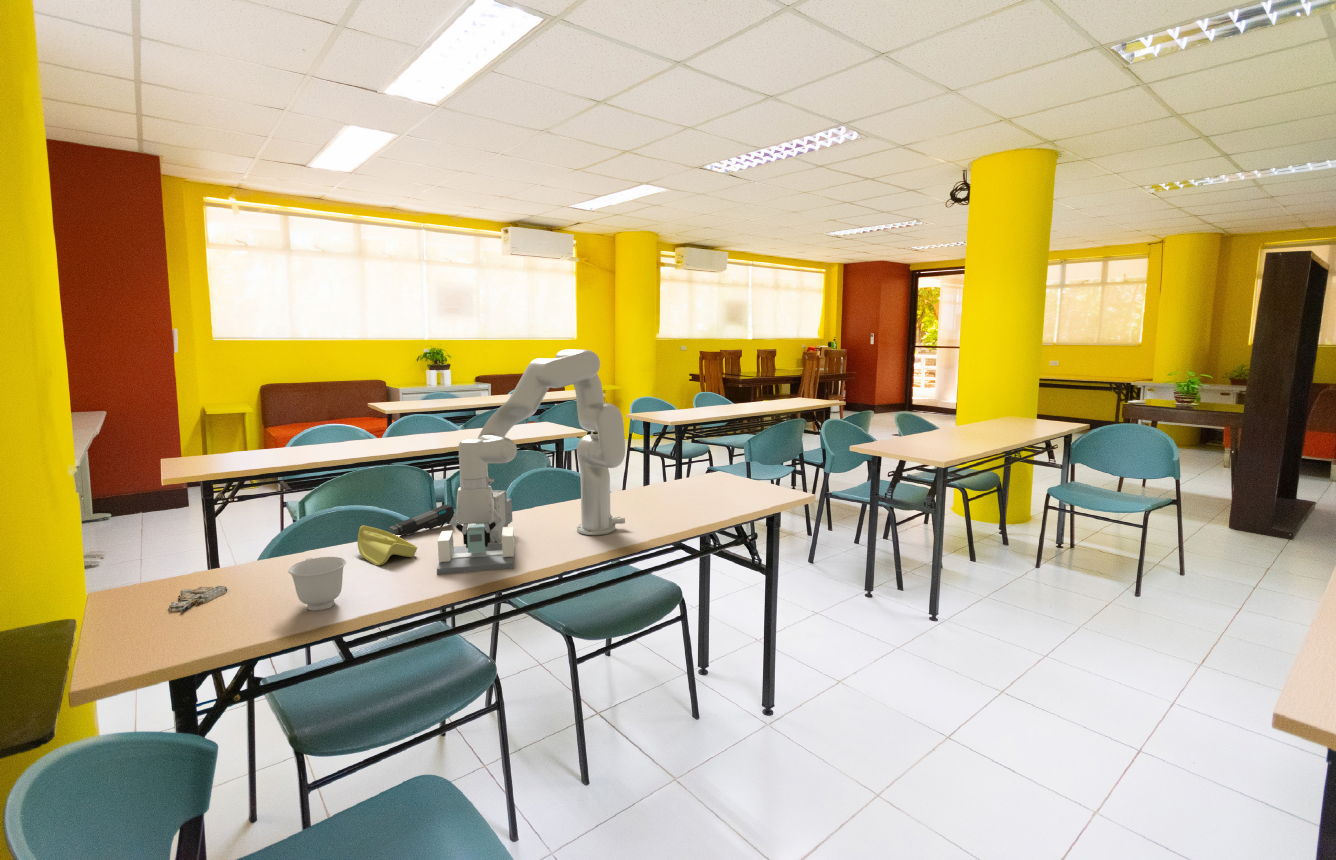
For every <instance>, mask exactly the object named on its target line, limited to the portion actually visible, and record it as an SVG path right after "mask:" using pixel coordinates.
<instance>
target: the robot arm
mask: <svg viewBox="0 0 1336 860" xmlns="http://www.w3.org/2000/svg"><path fill="white" fill-rule="evenodd" d="M600 368H601V360H600V358H599V356H598V354H597V353H595V352H594V351H592V350H589V349H576V348H575V349H572V348H570V349H569V348H568V349H567V348H566V349H562V350H560V351H558V352H557V353H556V355H555V357H554V358H546V357H545V358H543V357H540V358H534V359H533V360H532V361H530V363H529V364H528V365H527V366H526V368H525V370H524V372H523V374H522V375H521V378H520V379H519V381H518V383H517V384H516V387H515V388H514V390H513V391H512V392H511V395H510V397H509V398H508V399H507V401H505V402H504V403H503V404H502V405H501V406H500V407H498V409H497V410H496V411H495V412H493V414H492V415H491V416H490V417H489V418H488V420H487V421H486V422H485V424H484V425H483V427H482V430H480V433H479V434H478V437H477V438H467V439H463V440H461V441H460V442H459V443H458V461H459V463H458V464H459V483H460V484H459V485H460V486H459V487H458V489H457V494H456V495H457V496H456V512H454V514H453V515H454V516H453V518H452V519H451V521H450V523H448V524H449V525H450V526H452V527H454V528H456V530H458V531H459V532H460V533H461V534H462V537H463V538H462V539H463V545H465V546H466V548H468V542H467V530H468V527H469V525H476V523H484V526H485V546H486V547H488V543H490V531H491V530H492V529H493V528H494V527H495V526H496V525H497V524H499V523H500V522H501V521H502V518H501V516H500V515H499V514H498V513H497V512H496V511H495V509H494V498H493V492H492V490H493V488H492V486H491V485H490V484H494V478H493V477H489V472H488V469H489V468H488V466H489V465H490V464H507V463H509V462H511V461H513V460H514V459H515V458H516V456H517V453H518V448H517V445H516V443H515V441H514V440H513V439H510V438H509V437H506V435H507V434H508V433H509V432H510V430H511V429H512V428H513V427H514V426H516V425H517V424H519V423H520V422H522V421H524V420H526V419H528V418H530V417H532V416H533V415H534V414H535V413H536V412H537V410H538V408H539V407H540V405H541V403H542V401H543V400H544V397H545V396H546V394H547V392H548V391H549V390H550V388H552V389H559V388H564V387H568V386H572V385H573V387H574V392H575V397H576V398H575V399H576V408H577V409H576V410H577V418H578V419H577V420H578V423H579V426H580V427H581V428H582V429H584V430H585V431H588V432H592V433H591V434H586V435H584V436H583V437H581V438H580V440H579V441H578V443H577V446H576V455H577V460H578V464H579V465H578V466H579V474H580V507H581V510H580V514H581V519H580V520H581V523H580V524H578V525H577V526H576V531H577V532H578V533H579V534H582V535H585V536H603V535H607V534H611V533H613V532H614V531H615V530H616V525H617V524H619V525H621V524H622V525H623V524H626V517H621V516H612V513H611V476H610V470H609V469H614V468H617V467H619V466H620V465H622V463H623V462H624V460H625V456H626V439H625V427H624V426H625V425H624V418H623V415H622V412H621V410H620V409H619V408H618V406H616V405H614V404H612V403H607V402H605V400H604V392H603V385H602V382H601V379H600V376H599V375H598V372H599V371H600ZM594 433H597V434H594ZM494 517H495V518H496V520H495V521H493V520H494ZM491 521H493V522H492V523H491V524H490V523H489V522H491Z"/></svg>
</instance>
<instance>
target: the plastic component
mask: <svg viewBox="0 0 1336 860" xmlns="http://www.w3.org/2000/svg"><path fill="white" fill-rule="evenodd" d="M357 534H358V535H357V549H358V552H359V555H360V556H361V557H362V558H363V559H365V560H367V561H368V562H370V563H371V564H373V565H375V566H377V565H378V566H379V567H381V566H383V565H385V563H387V562H388V560H389V559H390V557H391V556H393V555H396V556H401V557H405V558H406V557H407V558H414V557H415V555H416V553H417V550H418V546H416V545H415V544H413V543H412V542H409V541H407V540H405V539H403V538H401V537H398V536H396V535H395V534H394V533H392V532H389V531H386V530H384V529H380V528H376V527H372V526H367V525H363V524H362V525H361V526H360V527H359V529H358V533H357Z"/></svg>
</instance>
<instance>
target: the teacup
mask: <svg viewBox="0 0 1336 860" xmlns="http://www.w3.org/2000/svg"><path fill="white" fill-rule="evenodd" d="M346 565H347V561H346V560H345V558H342V557H337V556H320V557H315V558H313V557H307V558H306V559H305V560H301V561H299V562H297V563H295V564H292V565H291V566H290V567H289V569H288V570H287V573H288V574H289V575H290V576H292V580H293V583H294V587H295V592H296V595H297V598H298V600H299V602H301V603H303V604H305V605H307V610H309V611H323V610H326V609H329V608H331V607H333V606H334V605H335V600H336V599H337V598H338V597H339V596H340V594H341V592H342V588H343V587H342V586H343V574H344V573H343V572H344V567H345V566H346Z"/></svg>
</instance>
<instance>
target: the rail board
mask: <svg viewBox="0 0 1336 860" xmlns="http://www.w3.org/2000/svg"><path fill="white" fill-rule="evenodd" d="M453 532H454V531H453V530H442V531H441V532H440V535H439V536H438V539H437V550H438V551H437V552H438V553H437V555H438V565H437V567H436V575H444V574H446V575H447V574H458V573H469V572H471V573H472V572H481V571H483V572H484V571H495V570H494V569H497V570H507V569H514V568H515V567H514V566H515V548H516V547H515V538H514V537H515V536H514V535H515V534H514V526H508V527H503V530H502V542H501V543H498V544H488V547H486V548H485V552H474V553H468V548H466V545H459V546H454V533H453Z"/></svg>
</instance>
